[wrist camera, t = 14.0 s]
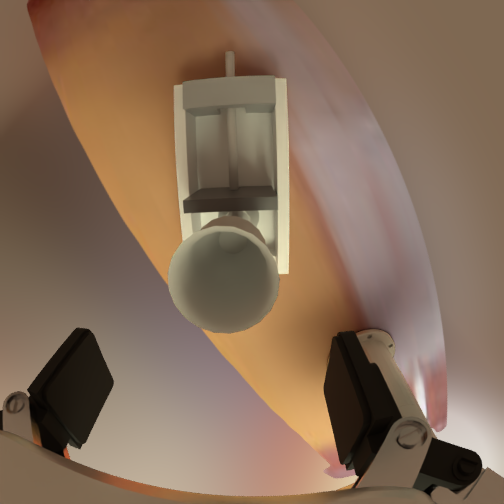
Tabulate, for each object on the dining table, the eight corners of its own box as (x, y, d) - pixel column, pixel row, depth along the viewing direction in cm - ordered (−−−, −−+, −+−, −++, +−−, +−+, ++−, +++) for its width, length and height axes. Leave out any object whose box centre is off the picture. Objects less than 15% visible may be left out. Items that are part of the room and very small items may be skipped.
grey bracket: (283, 254, 36) (289, 277, 29) (197, 256, 36) (185, 279, 30) (280, 91, 29) (287, 75, 22) (187, 96, 29) (170, 83, 22)
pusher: (271, 195, 32) (277, 210, 24) (201, 198, 32) (183, 213, 24) (267, 58, 26) (271, 29, 18) (196, 63, 26) (178, 36, 18)
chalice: (259, 250, 35) (263, 341, 18) (206, 239, 34) (164, 321, 17) (272, 193, 32) (293, 239, 15) (216, 182, 32) (174, 214, 15)
